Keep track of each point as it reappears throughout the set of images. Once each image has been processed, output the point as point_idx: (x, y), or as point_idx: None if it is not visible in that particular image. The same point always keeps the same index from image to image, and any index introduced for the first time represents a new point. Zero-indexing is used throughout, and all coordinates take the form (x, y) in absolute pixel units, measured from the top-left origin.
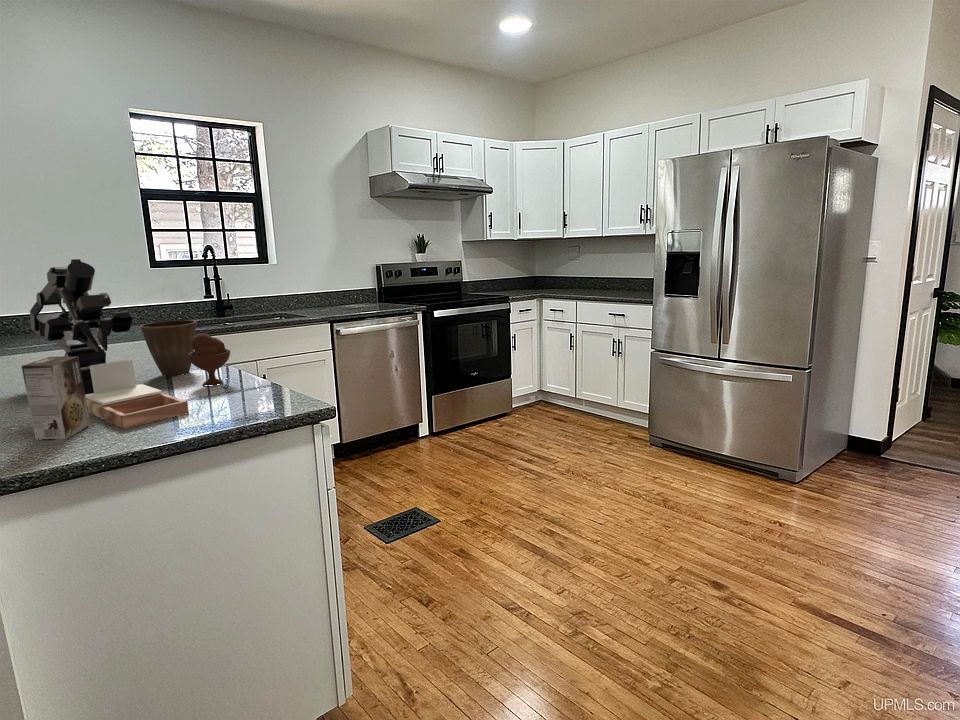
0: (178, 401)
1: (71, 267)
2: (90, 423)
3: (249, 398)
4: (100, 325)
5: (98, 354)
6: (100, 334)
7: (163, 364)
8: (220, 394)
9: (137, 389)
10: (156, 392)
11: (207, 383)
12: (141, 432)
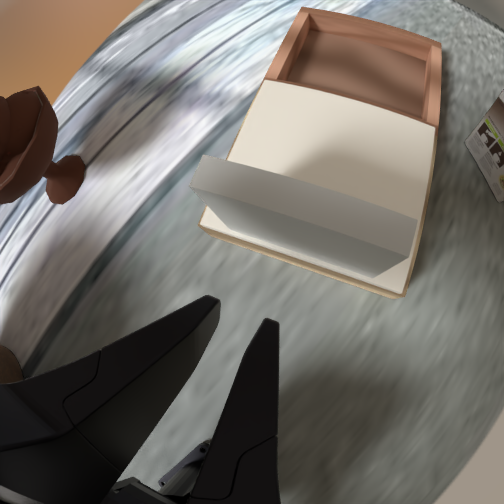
0: (305, 21)
1: None
2: (466, 139)
3: (177, 21)
4: (8, 455)
5: (130, 499)
6: (97, 443)
7: (3, 383)
8: (149, 81)
9: (274, 162)
10: (281, 83)
11: (75, 171)
12: (423, 30)
